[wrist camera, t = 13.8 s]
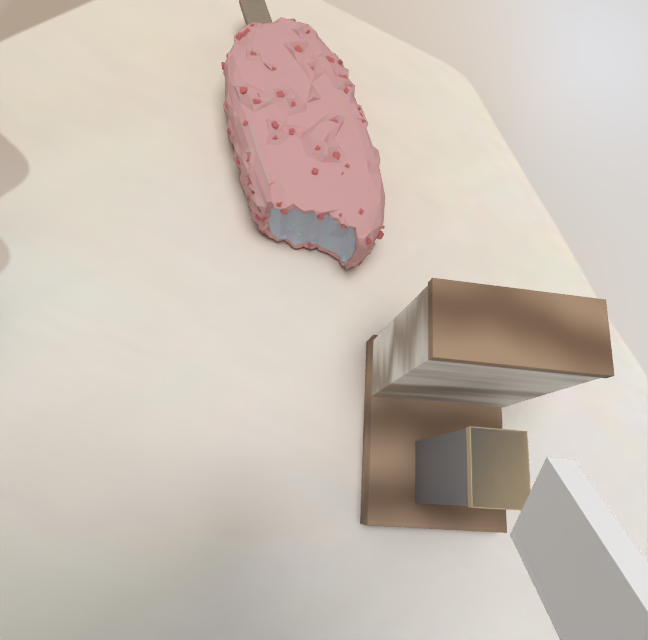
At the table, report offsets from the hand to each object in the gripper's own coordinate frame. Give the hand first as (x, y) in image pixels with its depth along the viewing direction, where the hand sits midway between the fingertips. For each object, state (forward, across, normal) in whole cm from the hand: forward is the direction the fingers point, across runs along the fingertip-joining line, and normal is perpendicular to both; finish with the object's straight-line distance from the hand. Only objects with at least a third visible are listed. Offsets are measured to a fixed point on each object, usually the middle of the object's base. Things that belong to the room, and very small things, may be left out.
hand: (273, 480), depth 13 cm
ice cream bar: (+48, +2, -2) cm, 48 cm away
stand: (+28, +17, -21) cm, 39 cm away
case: (+24, +17, -21) cm, 36 cm away
